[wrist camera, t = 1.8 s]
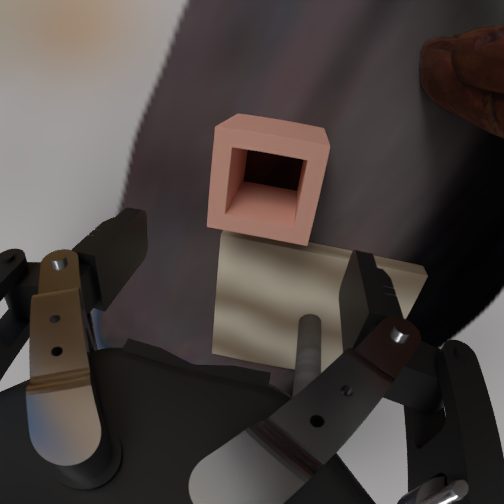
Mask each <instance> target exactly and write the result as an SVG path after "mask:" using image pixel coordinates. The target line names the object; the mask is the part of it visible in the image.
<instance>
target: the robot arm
mask: <svg viewBox="0 0 504 504" xmlns="http://www.w3.org/2000/svg"><path fill="white" fill-rule="evenodd" d="M147 248H148V242H147V216H146V212H145V211H144V210H139V209H133V208H125V209H124V210H123V211H122V212H121V213H119V214H118V215H117V216H116V217H115V218H114V217H113V218H111V219H109V220H107V221H104V222H102V223H101V224H100V225H99V226H98V227H97V228H96V229H95V230H93V231H92V232H91V233H90V234H89V235H88V236H86V237H85V238H84V239H83V240H82V241H81V242H80V243H79V244H77V245H76V246H75V247H74V248H73V249H72V250H66V249H64V250H57V251H54V252H51V253H49V254H48V255H46V256H45V257H44V258H43V260H42V261H41V262H39V263H38V262H27V260H26V257H25V253H24V252H23V251H22V250H20V249H9V250H7V251H4V252H2V253H0V301H1V300H2V299H3V298H5V300H6V303H7V305H8V308H9V309H8V310H7V312H6V313H5V314H4V315H3V316H2V318H1V319H0V380H1V379H2V377H3V376H4V374H5V372H6V371H7V369H8V368H9V366H10V365H11V363H12V362H13V360H14V359H15V357H16V356H17V354H18V353H19V352H20V350H21V349H22V347H23V346H24V344H25V343H26V341H27V340H28V338H29V337H30V341H29V345H30V346H29V354H30V355H29V359H30V379H29V380H27V381H24V382H22V383H20V384H17V385H15V386H13V387H11V388H8V389H6V390H4V391H1V392H0V504H376V503H375V502H374V501H373V500H372V498H371V497H370V496H369V494H367V492H366V491H365V489H364V488H363V487H362V486H361V484H360V483H359V482H358V481H357V479H356V478H355V477H354V475H353V474H352V473H351V471H350V470H349V469H348V467H347V466H346V465H345V464H344V462H343V461H342V460H341V458H340V457H339V456H338V454H337V453H336V452H337V451H338V450H339V449H340V448H341V447H342V446H343V445H344V444H345V442H346V441H347V440H348V439H349V438H350V437H351V436H352V434H353V433H354V432H355V431H356V430H357V428H358V427H359V426H360V425H361V424H362V423H363V421H364V420H365V419H366V418H367V417H368V415H369V414H370V413H371V412H372V410H373V409H374V408H375V406H376V405H377V404H378V403H379V401H380V400H381V399H382V397H384V398H386V399H389V400H392V401H394V402H397V403H400V404H402V405H404V414H405V425H406V440H407V460H408V493H407V494H405V495H404V496H403V497H402V498H401V499H400V500H399V501H398V503H397V504H504V458H503V452H502V447H501V442H500V437H499V433H498V428H497V424H496V420H495V416H494V412H493V408H492V405H491V401H490V397H489V394H488V391H487V387H486V384H485V381H484V377H483V374H482V371H481V368H480V365H479V362H478V359H477V357H476V354H475V353H474V351H473V350H472V349H471V348H470V347H469V346H468V345H466V344H465V343H463V342H461V341H458V340H449V341H447V342H446V343H445V344H444V345H443V347H442V348H441V349H439V348H437V347H434V346H431V345H429V344H426V343H424V342H422V341H421V336H420V333H419V331H418V329H417V328H416V327H415V326H414V325H413V324H412V323H411V322H409V321H408V320H406V319H404V317H403V314H402V311H401V307H400V304H399V301H398V298H397V296H396V292H395V289H394V286H393V283H392V280H391V278H390V276H389V275H388V274H387V273H386V272H385V271H384V270H383V269H380V268H377V265H376V262H375V258H374V255H373V254H371V253H366V252H361V251H356V250H354V251H353V252H352V254H351V256H350V259H349V262H348V265H347V268H346V271H345V274H344V277H343V280H342V283H341V286H340V290H339V309H340V320H341V332H342V346H343V353H342V354H341V355H340V356H339V357H338V358H337V359H336V360H335V361H334V362H333V363H332V364H331V365H329V366H328V367H327V368H326V369H325V370H324V371H323V372H322V373H321V374H319V375H318V376H317V377H316V378H315V379H314V380H313V381H312V382H310V383H309V384H308V385H307V386H306V387H305V388H304V389H302V390H301V391H300V392H299V393H298V394H296V395H295V396H294V397H292V396H290V395H289V394H287V393H286V392H285V391H283V390H281V389H279V388H278V387H276V386H273V385H271V384H269V379H270V373H268V372H263V371H258V370H252V369H247V368H242V367H238V366H222V365H195V364H191V363H189V362H187V361H185V360H183V359H181V358H179V357H177V356H175V355H173V354H171V353H169V352H168V351H166V350H164V349H162V348H159V347H156V346H152V345H149V344H145V343H142V342H139V341H135V340H132V339H129V338H128V340H127V342H126V343H125V345H124V347H123V348H106V349H100V350H98V349H97V344H96V339H95V334H94V328H93V322H92V317H91V313H90V312H91V310H92V309H93V308H95V309H99V310H102V311H106V309H107V308H108V307H109V305H110V304H111V303H112V301H113V300H114V299H115V297H116V296H117V295H118V293H119V292H120V291H121V289H122V288H123V287H124V285H125V284H126V283H127V281H128V280H129V279H130V277H131V276H132V275H133V273H134V272H135V271H136V269H137V268H138V267H139V266H140V264H141V263H142V262H143V260H144V259H145V257H146V253H147ZM444 408H445V411H444ZM445 413H446V417H445Z"/></svg>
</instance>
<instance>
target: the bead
mask: <svg viewBox="0 0 504 504" xmlns="http://www.w3.org/2000/svg"><path fill="white" fill-rule="evenodd" d="M248 150H253V151H260V152H265V153H271V154H277V155H282V156H288V157H293V158H298V159H303V164H302V169H301V174H300V179H299V184H298V189H297V191H294V190H289V189H284V188H279V187H273V186H268V185H263V184H257V183H251V182H245V181H244V174H245V167H246V159H247V151H248ZM329 150H330V144H329V141H328V138H327V135H326V132H325V130H324V128H320V127H316V126H311V125H306V124H300V123H295V122H290V121H284V120H278V119H272V118H266V117H259V116H253V115H246V114H236V115H235V116H233V117H231V118H229V119H228V120H226V121H224V122H222V123H221V124H219V125H217V126H216V127H215V135H214V145H213V156H212V167H211V179H210V191H209V204H208V218H207V227H211V228H216V229H222V230H227V231H232V232H237V233H243V234H248V235H253V236H258V237H264V238H269V239H274V240H279V241H284V242H289V243H294V244H299V245H304V246H307V245H308V241H309V237H310V233H311V229H312V225H313V221H314V217H315V212H316V208H317V204H318V200H319V195H320V191H321V187H322V182H323V178H324V173H325V169H326V164H327V160H328V155H329Z"/></svg>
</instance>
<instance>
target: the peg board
mask: <svg viewBox="0 0 504 504" xmlns="http://www.w3.org/2000/svg"><path fill="white" fill-rule="evenodd" d="M352 252H353V251H350V250H345V249H341V248H336V247H331V246H326V245H321V244H316V243H311V242H308V245H307V246H304V245H299V244H294V243H289V242H284V241H279V240H274V239H269V238H264V237H258V236H253V235H248V234H243V233H237V232H232V231H227V230H223V232H222V234H221V241H220V252H219V264H218V276H217V288H216V301H215V314H214V329H213V344H212V353H214V354H218V355H222V356H227V357H231V358H236V359H241V360H245V361H250V362H255V363H260V364H266V365H271V366H276V367H282V368H288V369H294V370H295V374H294V384H293V395H292V397H294V396H295V395H296V394H298V393H299V392H300V391H301V390H302V389H304V388H305V387H306V386H307V385H308V384H309V383H310V382H312V381H313V380H314V379H315V378H316V377H317V376H318V375H319V374H321V373H322V372H323V371H324V370H325V369H326V368H327V367H328V366H329V365H331V364H332V363H333V362H334V361H335V360H336V359H337V358H338V357H339V356H340V355H341V354H342V353H343V346H342V332H341V320H340V309H339V290H340V286H341V283H342V280H343V277H344V274H345V271H346V268H347V265H348V262H349V259H350V256H351V254H352ZM374 258H375V262H376V265H377V268H380V269H383V270H384V271H385V272H386V273H387V274H388V275H389V276H390V278H391V280H392V283H393V286H394V289H395V292H396V296H397V298H398V301H399V304H400V307H401V311H402V314H403V317H404V319H406V318H407V316H408V314H409V312H410V310H411V308H412V306H413V305H414V303H415V301H416V299H417V297H418V295H419V293H420V291H421V289H422V287H423V285H424V283H425V281H426V279H427V277H428V275H427V273H426V271H425V269H424V267H423V266H421V265H416V264H412V263H407V262H403V261H398V260H393V259H388V258H384V257H379V256H374Z"/></svg>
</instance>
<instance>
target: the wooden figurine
mask: <svg viewBox="0 0 504 504" xmlns="http://www.w3.org/2000/svg"><path fill="white" fill-rule="evenodd" d="M420 75H421V78H420V83H421V86H422V88H423V89H424V91H425V93H426V94H427V96H428V97H429V98H430V99H431V100H432V101H433V102H435V103H436V104H438V105H439V106H441V107H443V108H444V109H446V110H448V111H449V112H451V113H453V114H455V115H457V116H458V117H460V118H463V119H465V120H467V121H468V122H470V123H472V124H474V125H476V126H478V127H480V128H482V129H483V130H486V131H487V132H489V133H491V134H494V135H496V136H499V137H501V138H503V139H504V26H492V27H485V28H480V29H475V30H472V31H469V32H466V33H464V34H462V35H454V37H438V38H435V39H431V40H429V41H426V42H425V44H424V45H423V48H422V50H421V56H420Z"/></svg>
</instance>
